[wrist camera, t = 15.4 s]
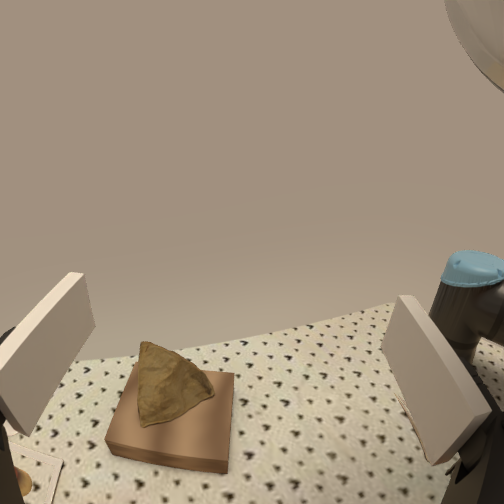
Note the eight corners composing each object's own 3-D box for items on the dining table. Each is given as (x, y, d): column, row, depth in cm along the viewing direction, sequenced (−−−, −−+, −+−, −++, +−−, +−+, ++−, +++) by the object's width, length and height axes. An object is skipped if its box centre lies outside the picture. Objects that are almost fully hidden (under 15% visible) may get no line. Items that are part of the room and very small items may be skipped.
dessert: (66, 463, 27) (52, 445, 25) (48, 535, 16) (29, 523, 14) (1, 440, 26) (-14, 421, 24) (-22, 500, 15) (-42, 484, 13)
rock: (216, 359, 42) (146, 350, 40) (225, 348, 35) (139, 336, 33) (211, 433, 36) (138, 424, 35) (220, 439, 29) (129, 428, 27)
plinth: (233, 390, 44) (234, 372, 43) (227, 473, 30) (227, 460, 29) (140, 379, 44) (135, 361, 42) (112, 454, 30) (104, 439, 29)
